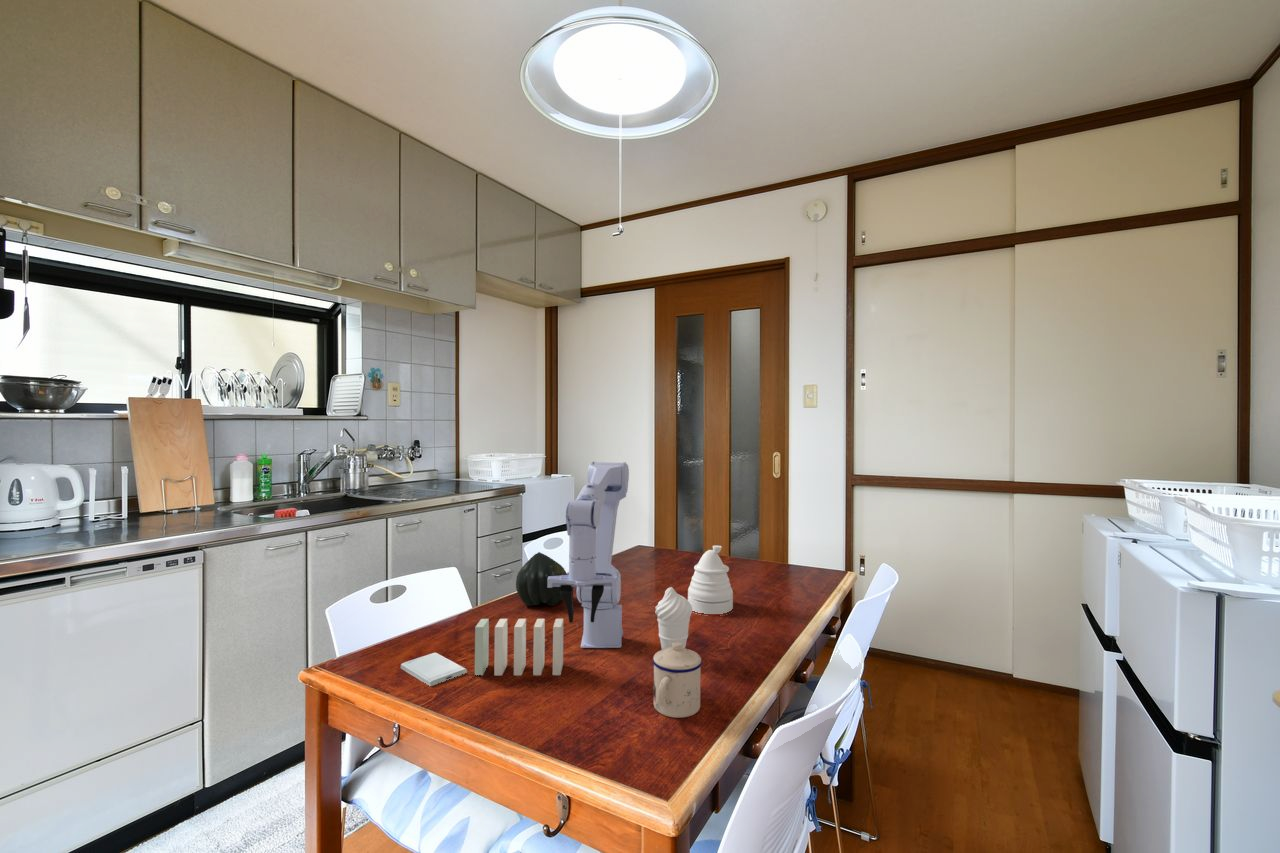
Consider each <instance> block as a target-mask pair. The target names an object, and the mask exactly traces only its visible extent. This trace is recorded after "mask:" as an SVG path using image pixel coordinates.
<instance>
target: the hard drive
mask: <svg viewBox="0 0 1280 853" xmlns="http://www.w3.org/2000/svg"><path fill="white" fill-rule="evenodd" d="M400 669H401V670H403V671H404V672H405V673H407V674H409V675H410V676H412V677H414V678H416V680H419V681H421V682H422V683H423V682H424V683H423V684H425V683H426V684H425V685H427V686H428V685H429V686H428V687H430V686H431V687H433V686H435V685H438V683H439V684H441V682H442V683H443V682H447V681H449V679H450V680H452V679H455V678H457V676H458V677H460V676H463V675H465V673H466V674H468V669H467V668H465V667H463V666H462V665H460V664H458V663H456V662H454V661H453V660H450V659H449V658H446V657H445V656H443V655H441V654H439V653H437V652H432V653H428V654H426V655H423V656H420V657H417V658H414V659H411V660H408V661H405V662H402V663H401V664H400ZM462 674H463V675H462ZM454 677H455V678H454ZM446 680H447V681H446Z"/></svg>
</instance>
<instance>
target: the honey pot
mask: <svg viewBox="0 0 1280 853" xmlns="http://www.w3.org/2000/svg"><path fill="white" fill-rule="evenodd" d="M722 548H723V547H722V546H721V545H716V544H715V545H712V549H708V550H706V551H705V552H704V553H703V554H702V556H701V557H700V559H699V561H698V562H697V564H695V565H694V566H693V569H694V573H693V575H692V576H691V581H690V584H689V586H688V589H687V600H688V601H689V602H690V604H691V606H692V611H695V612H698V613H704V614H723V613H727V612H729V611H731V610H732V609H734V601H733V600H734V592H733V588H732V587H731V583H730V578H729V577H728V576H729V575H728V572H729V571H730V567H729V566H728V565H726V564H724V563H723V561H722V559H721V557H720V555H719V553H721V550H722Z"/></svg>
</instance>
